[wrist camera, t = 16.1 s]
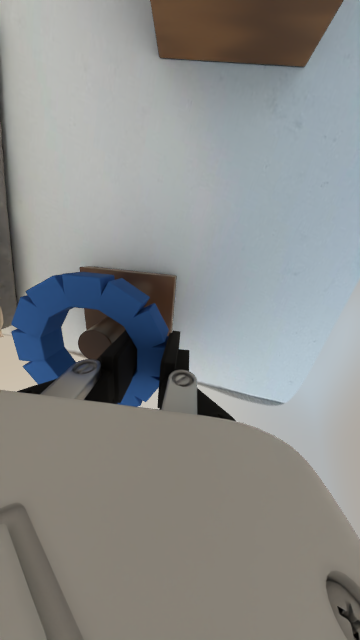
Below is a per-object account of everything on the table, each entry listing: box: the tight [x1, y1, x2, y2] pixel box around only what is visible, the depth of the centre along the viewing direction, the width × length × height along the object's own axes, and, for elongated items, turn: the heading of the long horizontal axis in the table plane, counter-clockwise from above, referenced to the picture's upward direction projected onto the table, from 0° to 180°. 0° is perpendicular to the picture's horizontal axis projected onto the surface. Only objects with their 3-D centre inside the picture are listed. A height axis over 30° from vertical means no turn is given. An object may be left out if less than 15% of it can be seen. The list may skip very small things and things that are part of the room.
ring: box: [11, 272, 169, 407], centre depth 11 cm, size 10×10×2 cm
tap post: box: [78, 266, 177, 360], centre depth 15 cm, size 9×9×8 cm
